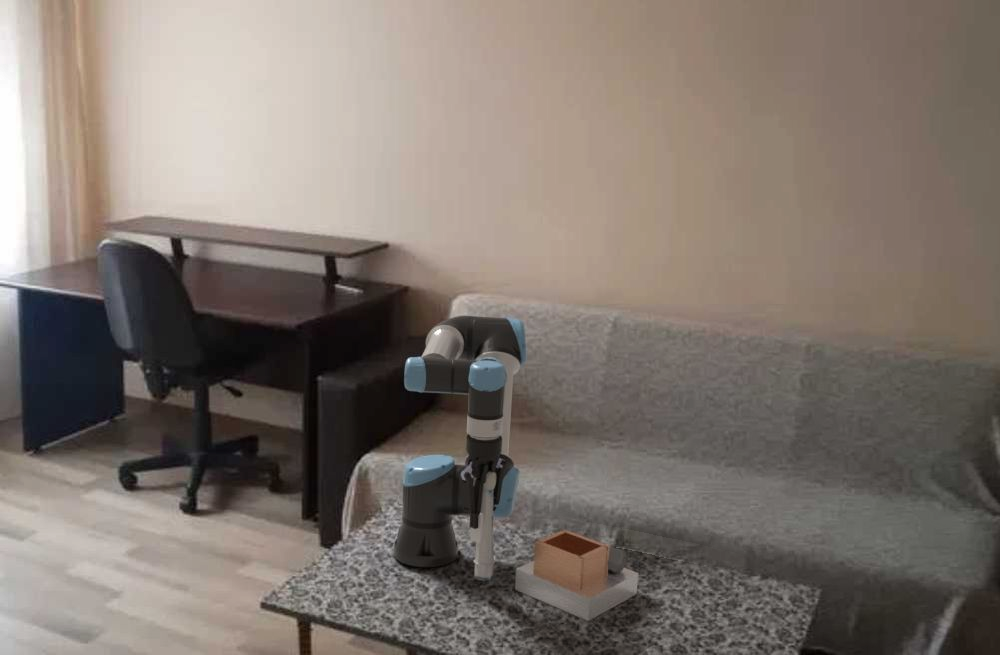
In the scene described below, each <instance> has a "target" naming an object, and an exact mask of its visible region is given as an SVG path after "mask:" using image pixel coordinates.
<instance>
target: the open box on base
mask: <svg viewBox="0 0 1000 655" xmlns="http://www.w3.org/2000/svg"><path fill="white" fill-rule="evenodd" d="M533 553H534V556H533V560H531V561H530V562H527V563H525V564H522V565H521V566H519V567H516V570H515V583H514V585H515V586H514V587H515V588H514V590H515V591H518V592H519V593H522V594H524V595H527V596H529V597H531V598H534V599H536V600H538V601H540V602H543V603H545V604H548V605H550V606H552V607H555V608H557V609H559V610H561V611H564V612H566V613H568V614H571V615H573V616H576V617H577V618H580V619H582V620H585V621H587V622H589V621H591V620H593V619H594V618H597V617H598V616H600V615H602V614H603V613H605V612H607V611H609V610H611V609H612V608H613V609H614V608H615V607H616V606H618V605H620V604H622V603H624V602H625V601H627V600H629V599H631V598H632V596H633V597H635V596H636V595H637V592H638V583H639V581H638V580H639V572H637V571H633V570H631V569H628V568H626V563H627V558H628V556H627V553H626V551H624V550H621V549H619V548H615V547H612V546H610V545H608V544H605V543H603V542H600V541H597V540H595V539H591V538H590V537H589V538H588V537H587V536H583V535H581V534H578V533H576V532H573V531H569V530H567V529H562V530H560V531H557V532H556V533H554V534H550V535H549V536H546V537H544V538H541V539H539V540H537V541H535V542H534V552H533ZM635 594H636V595H635ZM630 597H631V598H630Z"/></svg>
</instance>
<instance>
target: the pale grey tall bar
mask: <svg viewBox="0 0 1000 655" xmlns="http://www.w3.org/2000/svg"><path fill="white" fill-rule="evenodd" d="M473 478H474V482H473V486H474V485H475V480H476V479H478V478H475V477H473ZM495 484H496V473H495V472H493V473H491V472H490V471H489V472H488V473H487V474H486V482H485V483H484V484H483V494H482V503H481V512H480V513H482V514H483V530H482V543H480V544H479V543H477V542H475V555H474V556H475V558H474V559H473V563H474V578H475V579H476V580H479V581H485V582H486V581H490V580H491V579H492V578H493V577H494V564H496V560H495V559H494V552H495V551H494V550H495V549H494V546H495V545H494V539H495V538H494V518H493V489H494V487H495Z"/></svg>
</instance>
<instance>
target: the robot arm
mask: <svg viewBox="0 0 1000 655" xmlns="http://www.w3.org/2000/svg"><path fill="white" fill-rule="evenodd" d="M526 346H527V345H526V331H525V325H524V323H523V321H522V320H521V319H519V318H510V317H507V316H506V317H505V316H504V317H492V316H478V315H477V316H475V315H473V316H472V315H458V316H454V317H450V318H448V319H445V320H443V321H441V322H439V323H437V324H436V325H434V326H433V327H432V328H431V329H430V331H429V332H428V334H426V338H425V348H424V351H423V352H422V355H421V356H413V357H412V356H411V357H408V358H407V359H406V361H405V365H404V372H403V373H404V377H403V379H404V380H403V383H404V388H405V389H406V390H407V391H409V392H418V393H433V394H435V393H436V394H455V395H467V396H468V397H467V398H468V402H467V404H468V406H467V409H468V410H467V420H466V422H467V423H466V433H467V435H466V444H465V445H466V446H465V447H466V448H465V451H466V453H467V456H466V457H465V460H464V464H456V461H455V459H454V458H453V457H452V456H450V455H446V454H428V455H424V456H419V457H417V458H414V459H411V460H409V462H408V463H407V464H406V465H405V467H404V468H403V469H404V470H403V479H402V482H401V483H402V510H401V511H402V513H401V514H402V515H401V516H402V517H401V525H400V527H399V529H398V533H397V537H396V539H395V540H394V543H393V557H394V558H395V560H397V561H398V562H401V563H402V564H405V565H407V566H411V567H417V568H435V567H443V566H445V565H446V566H447V565H448V564H451V563H453V562H455V561H456V560H457V558H458V557H459V542H458V541H457V538H456V534H455V530H454V527H453V516H463V517H464V516H465V517H469V527H470V535H469V536H470V538H469V540H470V541H473V542H475V543H476V542H477V543H479V544H480V543H482V530H483V514H482V513H480V512H481V503H482V494H483V484H484V483H485V482H486V474H487V473H488V472H489V471H490V472H491V473H493V472H495V473H496V484H495V487H494V489H493V519H495V518H502V519H503V518H508V517H510V516H511V515H512V513H513V511H514V508H515V504H516V499H517V493H518V487H519V483H520V482H519V481H520V469H519V468H518V467H515V462H514V458H512V457H511V456H510V455H509V446H510V445H509V444H510V431H511V416H512V415H511V414H512V403H513V400H512V399H513V386H514V375H515V374H517V373H518V372H519V371H520V368H521V366H522V365H525V364H526V363H527V347H526ZM473 477H475V478H478V479H476V480H475V485H474V486H473V482H474V478H473Z"/></svg>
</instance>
